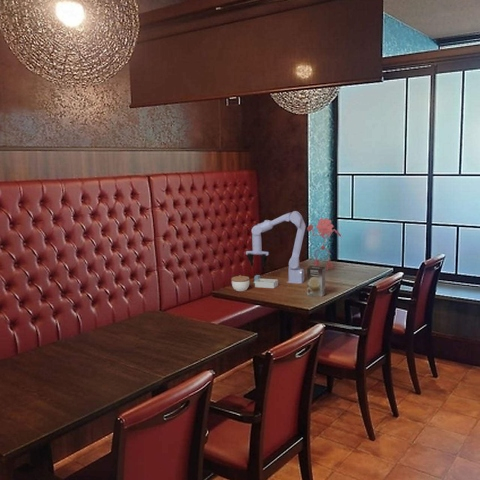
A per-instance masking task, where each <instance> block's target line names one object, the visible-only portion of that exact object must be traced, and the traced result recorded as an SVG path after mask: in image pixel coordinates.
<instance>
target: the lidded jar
mask: <svg viewBox="0 0 480 480" xmlns="http://www.w3.org/2000/svg"><path fill="white" fill-rule="evenodd" d="M230 280H231V286H232V289H233V290H234V291H235V292H246V290H248V289H249V286H250V277H249V276H246V275H241V274H239V275H238V276H237V275H236V276H233V277H231V279H230Z"/></svg>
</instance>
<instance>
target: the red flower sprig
mask: <svg viewBox="0 0 480 480" xmlns="http://www.w3.org/2000/svg"><path fill="white" fill-rule="evenodd" d="M315 228H316V230H318V233H319V234H314V225H313V224H309V225H308V226H307V232H308V233H309V232H312V236H313V237H316V236H317V237H318V236H319V237H322V238H323V239H324V240H323V244H322V245H321V247H320V248H318V249H316V250H315V251H314V255H315V260H314V261H313V266H321V267H326V271H328V270H329V268H331V269H333V270H334V268H336V266H334V264H333V263H332V262H331V261H330V260H327V261H326V264H327V265H325V264H322V265H321V264H320V261H319V259H317V253H316V252H317V251H319V250H326V251H327V252H328V259H330V257H331V256H330V255H331V253H330V251H329V250H328V249H327V248H326V246H325V243H326V239H327V240H328V239H329V238H330V236H331V235H332V234H333V232H334V233H335V234H336V235H338V237H342V234H341V233H340V232H339V231H338V230H336V229H335V227H334V225H333V223H332V220H331V219H328V217H326V218H323V217H320V220H319V221H317V225H316V226H315ZM333 228H334V229H333ZM325 235H326V236H325ZM327 236H328V237H327Z"/></svg>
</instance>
